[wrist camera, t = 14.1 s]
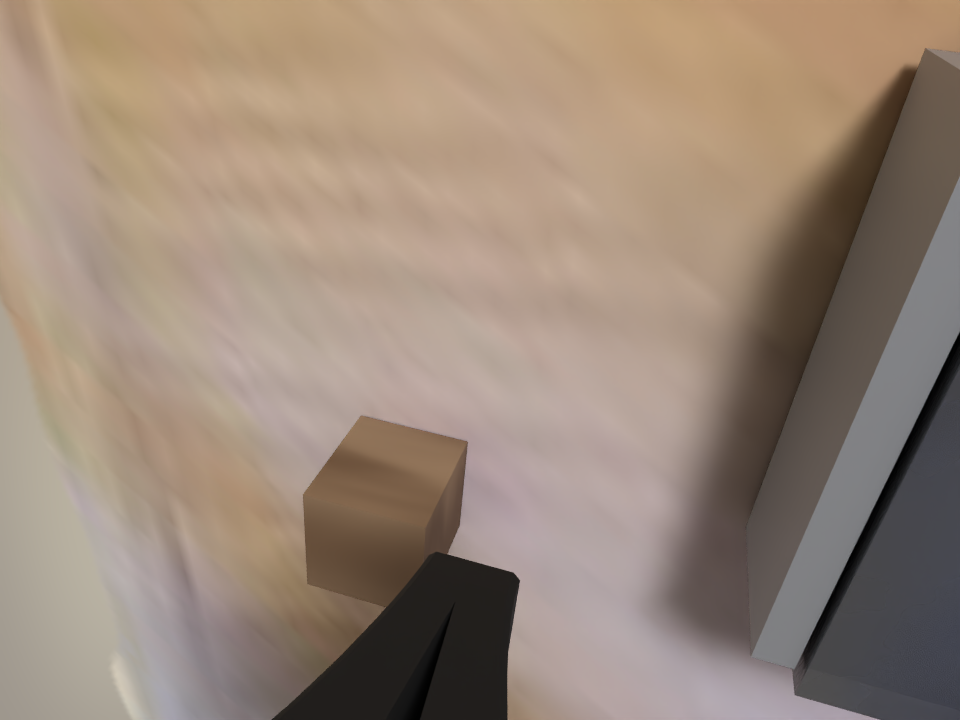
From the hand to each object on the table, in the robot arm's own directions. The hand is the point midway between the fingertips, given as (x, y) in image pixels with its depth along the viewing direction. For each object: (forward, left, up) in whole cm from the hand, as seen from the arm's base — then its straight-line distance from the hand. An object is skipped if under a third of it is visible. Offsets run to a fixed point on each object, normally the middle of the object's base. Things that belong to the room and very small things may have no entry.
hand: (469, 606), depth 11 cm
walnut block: (-7, +4, -10) cm, 13 cm away
